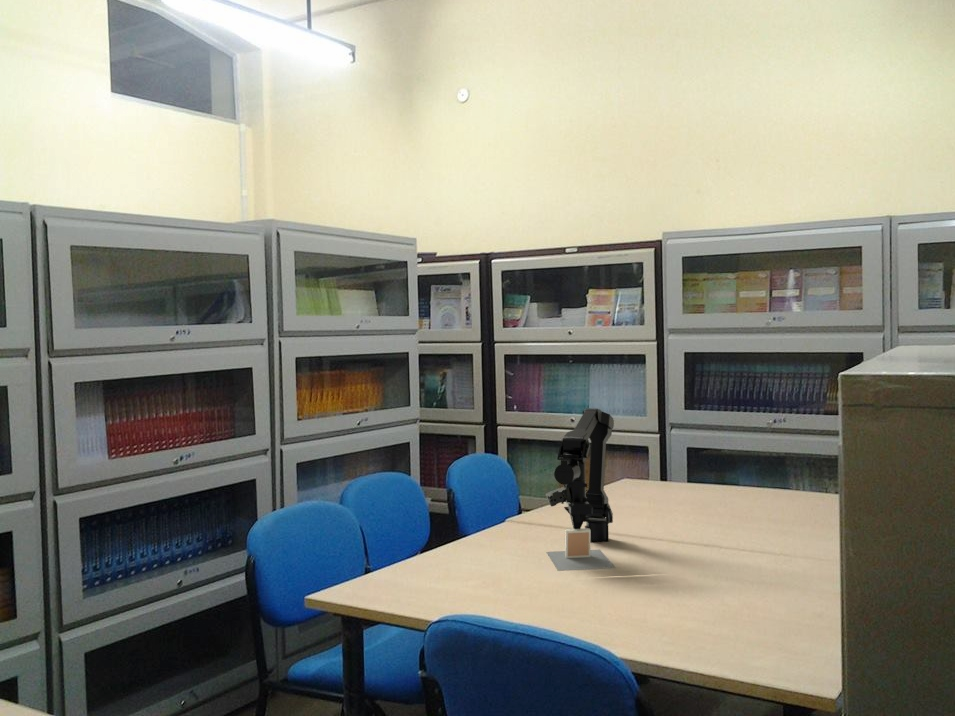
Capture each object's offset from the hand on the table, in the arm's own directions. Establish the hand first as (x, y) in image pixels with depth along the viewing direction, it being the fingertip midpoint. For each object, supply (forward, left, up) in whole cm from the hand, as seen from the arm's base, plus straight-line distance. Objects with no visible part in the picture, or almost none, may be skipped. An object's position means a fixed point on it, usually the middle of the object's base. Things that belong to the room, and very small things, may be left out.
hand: (576, 533), depth 247 cm
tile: (0, +1, -7) cm, 7 cm away
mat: (0, +4, -7) cm, 8 cm away
